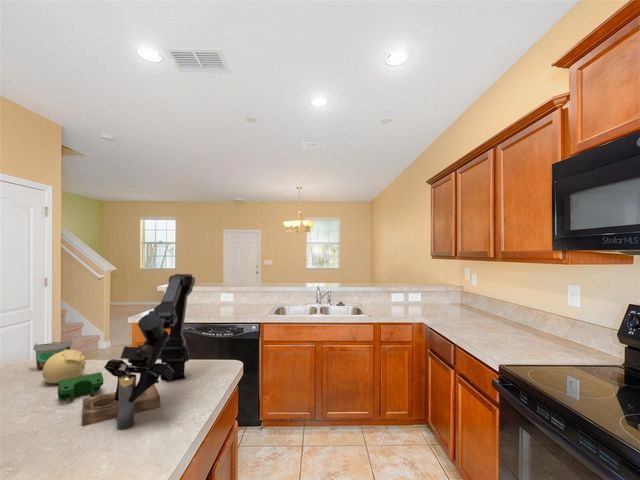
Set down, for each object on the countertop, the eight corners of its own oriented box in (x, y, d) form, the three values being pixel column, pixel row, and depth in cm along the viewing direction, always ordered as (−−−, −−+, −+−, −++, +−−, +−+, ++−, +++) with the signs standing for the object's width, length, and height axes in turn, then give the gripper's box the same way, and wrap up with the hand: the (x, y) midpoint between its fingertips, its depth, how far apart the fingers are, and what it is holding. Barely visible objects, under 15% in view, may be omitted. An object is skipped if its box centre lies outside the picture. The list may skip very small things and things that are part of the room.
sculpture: (83, 382, 111) (85, 352, 111) (39, 390, 104) (41, 357, 105) (85, 371, 120) (87, 343, 121) (44, 378, 114) (46, 348, 114)
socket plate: (153, 393, 104) (154, 383, 104) (159, 406, 95) (160, 396, 95) (82, 409, 93) (82, 398, 93) (81, 425, 84) (82, 414, 84)
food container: (26, 373, 117) (28, 346, 118) (32, 368, 123) (34, 342, 123) (67, 368, 123) (69, 343, 124) (71, 363, 129) (73, 339, 129)
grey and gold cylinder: (133, 420, 87) (135, 373, 88) (135, 426, 84) (137, 377, 85) (116, 424, 85) (118, 376, 86) (117, 431, 82) (119, 381, 82)
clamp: (66, 416, 97) (53, 395, 93) (64, 404, 101) (51, 384, 97) (109, 391, 104) (99, 371, 100) (106, 381, 108) (96, 362, 105)
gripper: (111, 331, 91) (74, 385, 79) (169, 335, 88) (140, 392, 77) (129, 350, 98) (98, 402, 87) (184, 354, 96) (159, 408, 84)
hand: (122, 401), depth 84 cm, fingers closed on grey and gold cylinder, 4 cm apart
